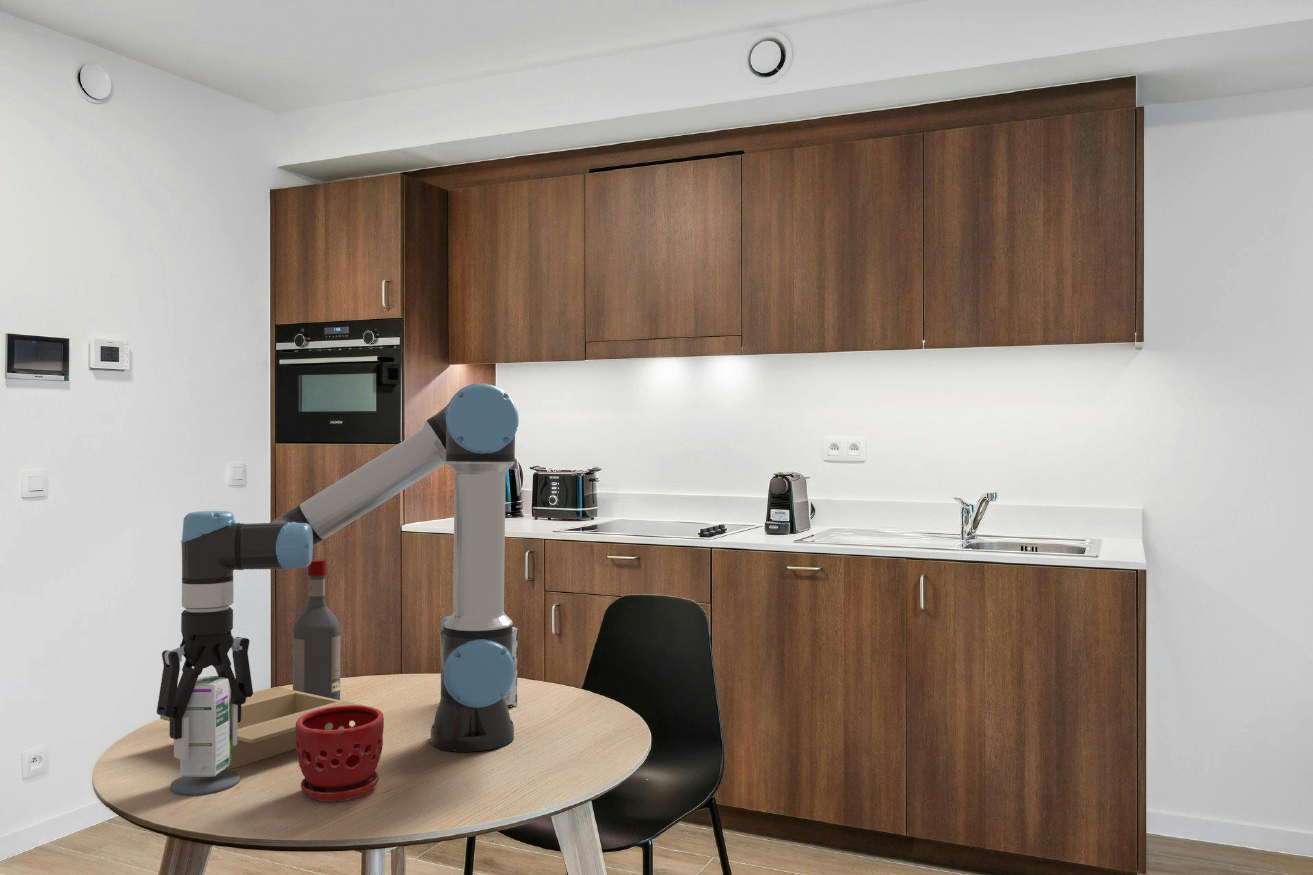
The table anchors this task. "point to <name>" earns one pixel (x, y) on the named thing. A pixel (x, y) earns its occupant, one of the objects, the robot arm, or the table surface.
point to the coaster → (205, 783)
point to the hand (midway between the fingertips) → (206, 750)
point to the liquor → (317, 641)
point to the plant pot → (339, 751)
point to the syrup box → (209, 728)
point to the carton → (273, 722)
